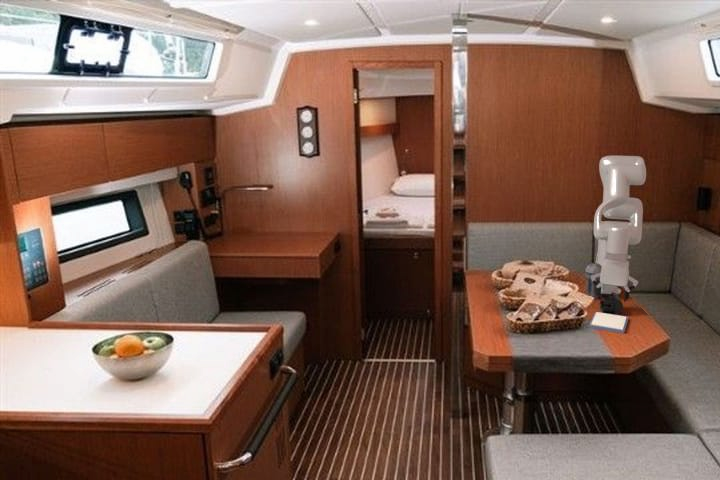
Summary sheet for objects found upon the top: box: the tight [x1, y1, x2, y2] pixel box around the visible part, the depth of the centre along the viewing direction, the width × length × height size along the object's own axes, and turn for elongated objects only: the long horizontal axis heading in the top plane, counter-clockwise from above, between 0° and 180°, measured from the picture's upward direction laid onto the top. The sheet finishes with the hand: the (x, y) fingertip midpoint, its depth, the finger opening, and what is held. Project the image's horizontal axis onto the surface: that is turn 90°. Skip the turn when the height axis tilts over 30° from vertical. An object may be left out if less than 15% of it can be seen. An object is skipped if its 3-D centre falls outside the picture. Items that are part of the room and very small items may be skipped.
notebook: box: [588, 311, 629, 334], centre depth 220 cm, size 16×12×1 cm
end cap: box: [599, 292, 624, 315], centre depth 233 cm, size 10×7×7 cm
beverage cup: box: [584, 252, 602, 301], centre depth 247 cm, size 7×7×20 cm
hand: (612, 298), depth 231 cm, fingers open, 9 cm apart
